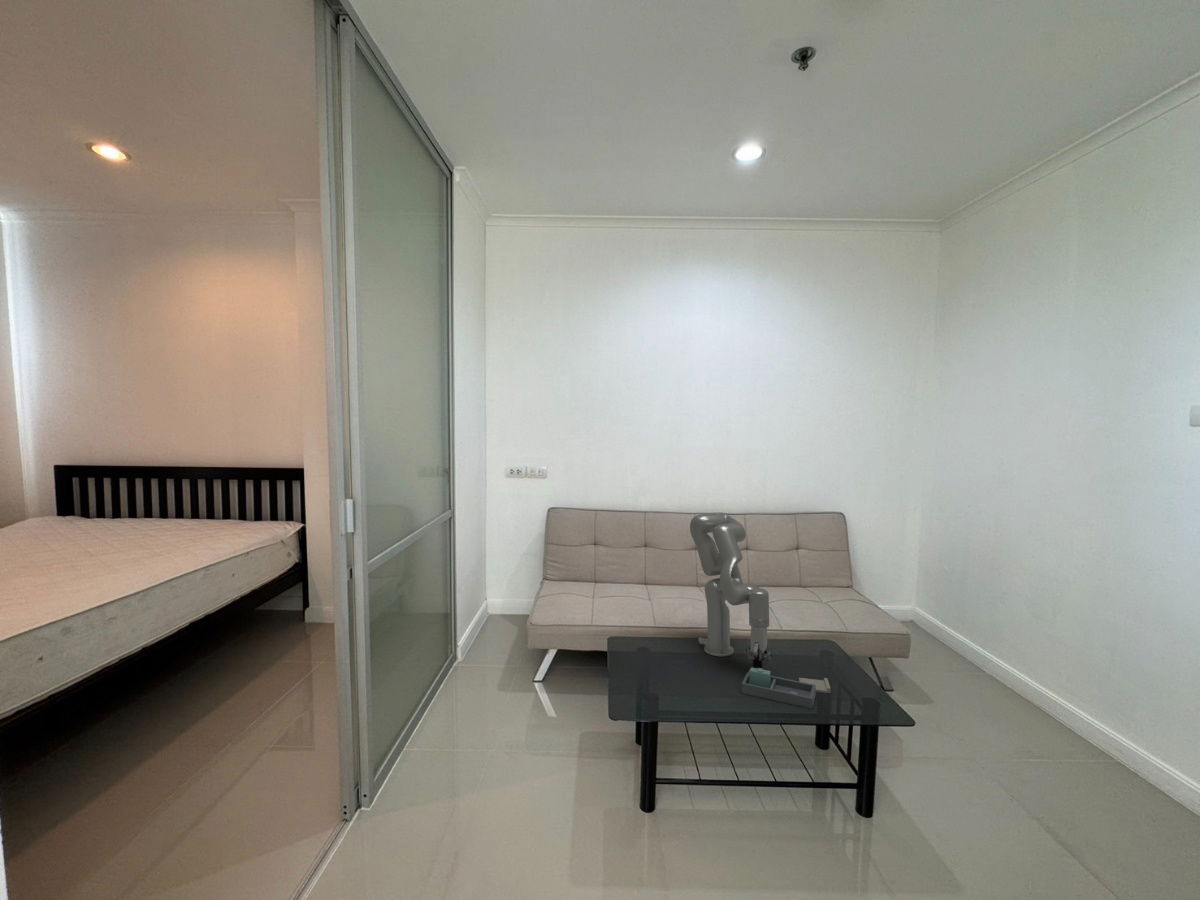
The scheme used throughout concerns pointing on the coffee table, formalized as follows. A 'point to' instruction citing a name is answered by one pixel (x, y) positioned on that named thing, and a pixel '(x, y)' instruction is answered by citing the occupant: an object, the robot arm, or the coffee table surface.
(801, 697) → the housing
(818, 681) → the lid plate
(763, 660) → the mechanical component
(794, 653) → the coffee table surface
